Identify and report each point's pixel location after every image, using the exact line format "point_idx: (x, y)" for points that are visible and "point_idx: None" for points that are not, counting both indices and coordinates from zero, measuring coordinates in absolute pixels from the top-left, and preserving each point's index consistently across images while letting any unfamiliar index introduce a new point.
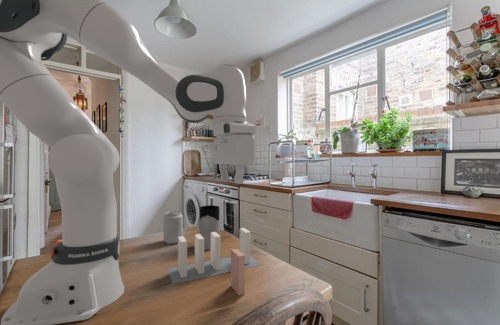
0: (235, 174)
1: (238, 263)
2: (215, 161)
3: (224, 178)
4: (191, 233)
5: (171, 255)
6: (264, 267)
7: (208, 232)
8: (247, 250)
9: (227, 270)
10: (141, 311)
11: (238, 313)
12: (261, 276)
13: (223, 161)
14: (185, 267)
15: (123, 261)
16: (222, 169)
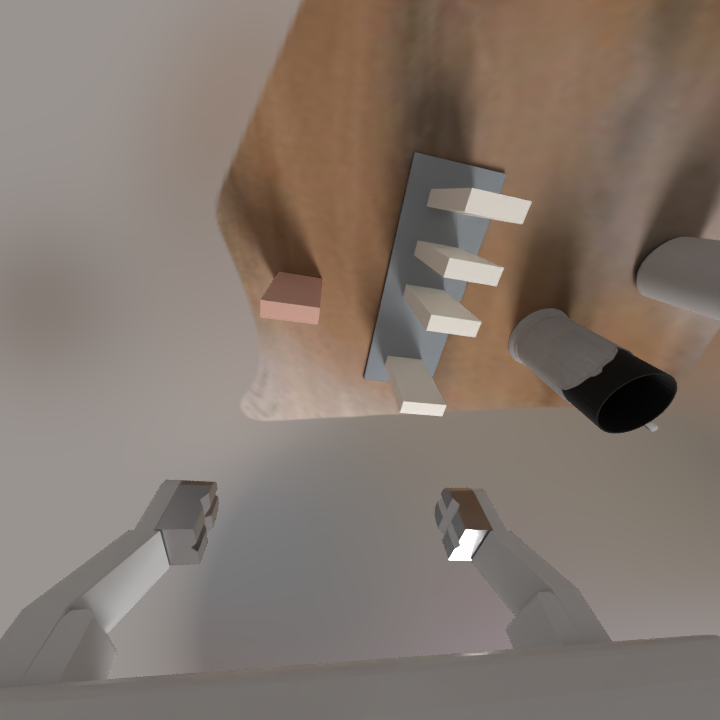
0: (134, 549)
1: (266, 293)
2: (696, 675)
3: (448, 505)
4: (658, 336)
5: (577, 222)
6: (354, 378)
7: (553, 346)
8: (392, 375)
9: (387, 307)
10: (343, 12)
11: (225, 239)
12: (326, 353)
13: (394, 714)
14: (435, 202)
15: (682, 49)
16: (527, 584)
